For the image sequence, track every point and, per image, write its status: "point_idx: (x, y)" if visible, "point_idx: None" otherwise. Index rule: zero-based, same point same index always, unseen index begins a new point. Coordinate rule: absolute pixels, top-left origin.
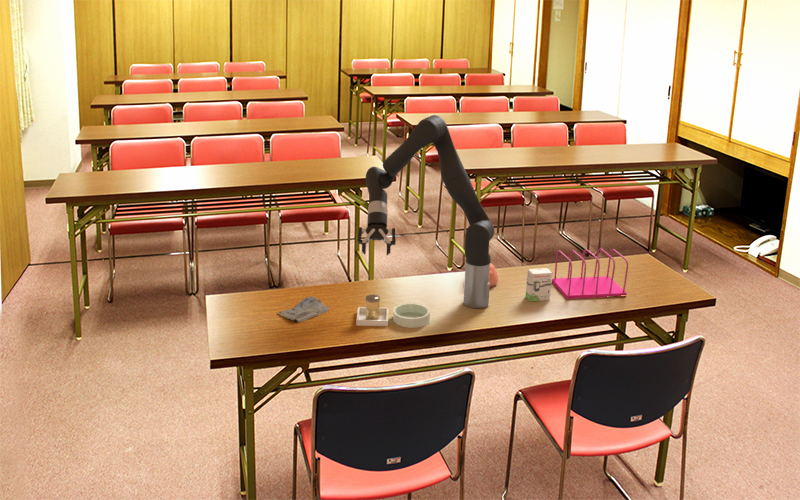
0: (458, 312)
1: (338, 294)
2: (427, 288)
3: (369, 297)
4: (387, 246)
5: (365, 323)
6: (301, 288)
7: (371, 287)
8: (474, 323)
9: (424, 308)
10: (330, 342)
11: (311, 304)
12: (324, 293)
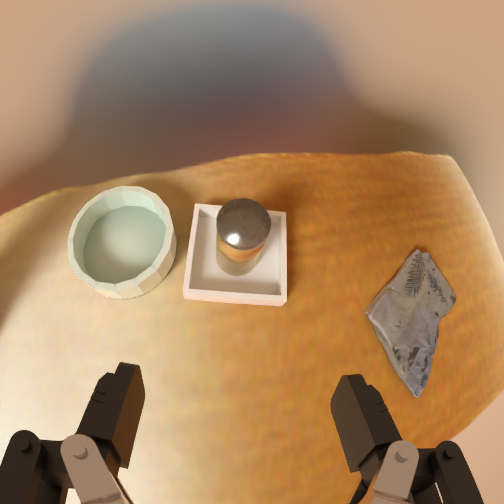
0: (11, 289)
1: None
2: None
3: (256, 222)
4: (111, 415)
5: None
6: None
7: (239, 499)
8: (7, 229)
9: (76, 258)
10: (328, 162)
11: (411, 333)
12: None
